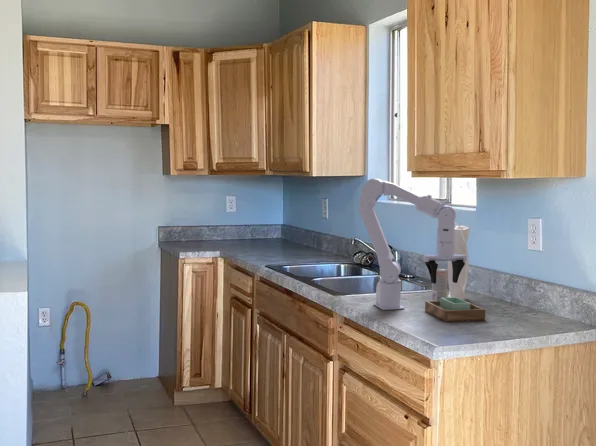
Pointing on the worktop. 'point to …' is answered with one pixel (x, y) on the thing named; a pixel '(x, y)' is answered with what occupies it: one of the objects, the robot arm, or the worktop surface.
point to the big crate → (455, 313)
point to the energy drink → (440, 285)
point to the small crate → (454, 304)
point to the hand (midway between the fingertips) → (444, 282)
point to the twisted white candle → (461, 249)
